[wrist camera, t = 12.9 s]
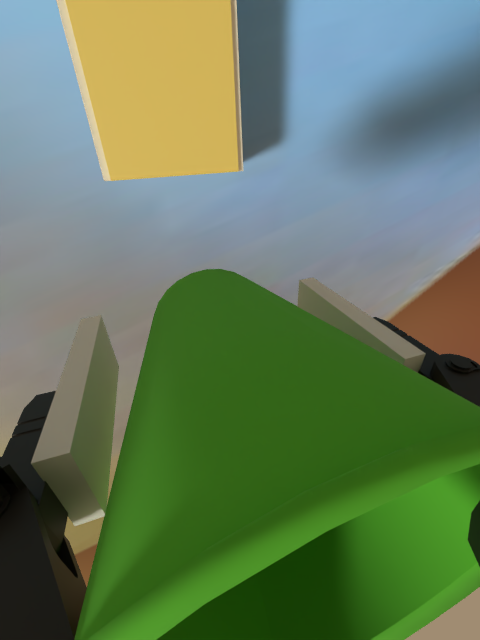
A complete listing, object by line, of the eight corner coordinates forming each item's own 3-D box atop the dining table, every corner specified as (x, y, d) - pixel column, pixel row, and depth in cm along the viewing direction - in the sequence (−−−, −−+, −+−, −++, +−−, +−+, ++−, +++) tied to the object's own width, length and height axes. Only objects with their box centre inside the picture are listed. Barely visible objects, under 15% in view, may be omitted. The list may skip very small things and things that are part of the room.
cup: (315, 235, 13) (703, 401, 4) (270, 385, 17) (420, 639, 8) (105, 202, 10) (-182, 599, 1) (108, 396, 14) (56, 832, 5)
